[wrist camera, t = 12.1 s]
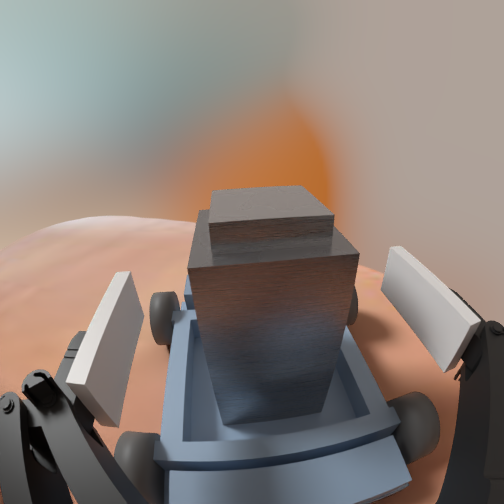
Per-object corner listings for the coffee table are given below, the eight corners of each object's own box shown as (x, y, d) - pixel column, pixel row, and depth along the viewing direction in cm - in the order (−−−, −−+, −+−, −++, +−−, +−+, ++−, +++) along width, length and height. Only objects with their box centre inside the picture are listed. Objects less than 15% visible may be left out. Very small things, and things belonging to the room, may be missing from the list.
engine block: (223, 425, 14) (181, 234, 8) (220, 355, 19) (197, 188, 14) (321, 412, 14) (363, 221, 9) (300, 346, 20) (311, 181, 14)
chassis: (143, 525, 8) (107, 513, 6) (168, 312, 26) (158, 274, 24) (422, 479, 9) (459, 453, 7) (331, 297, 27) (336, 259, 25)
